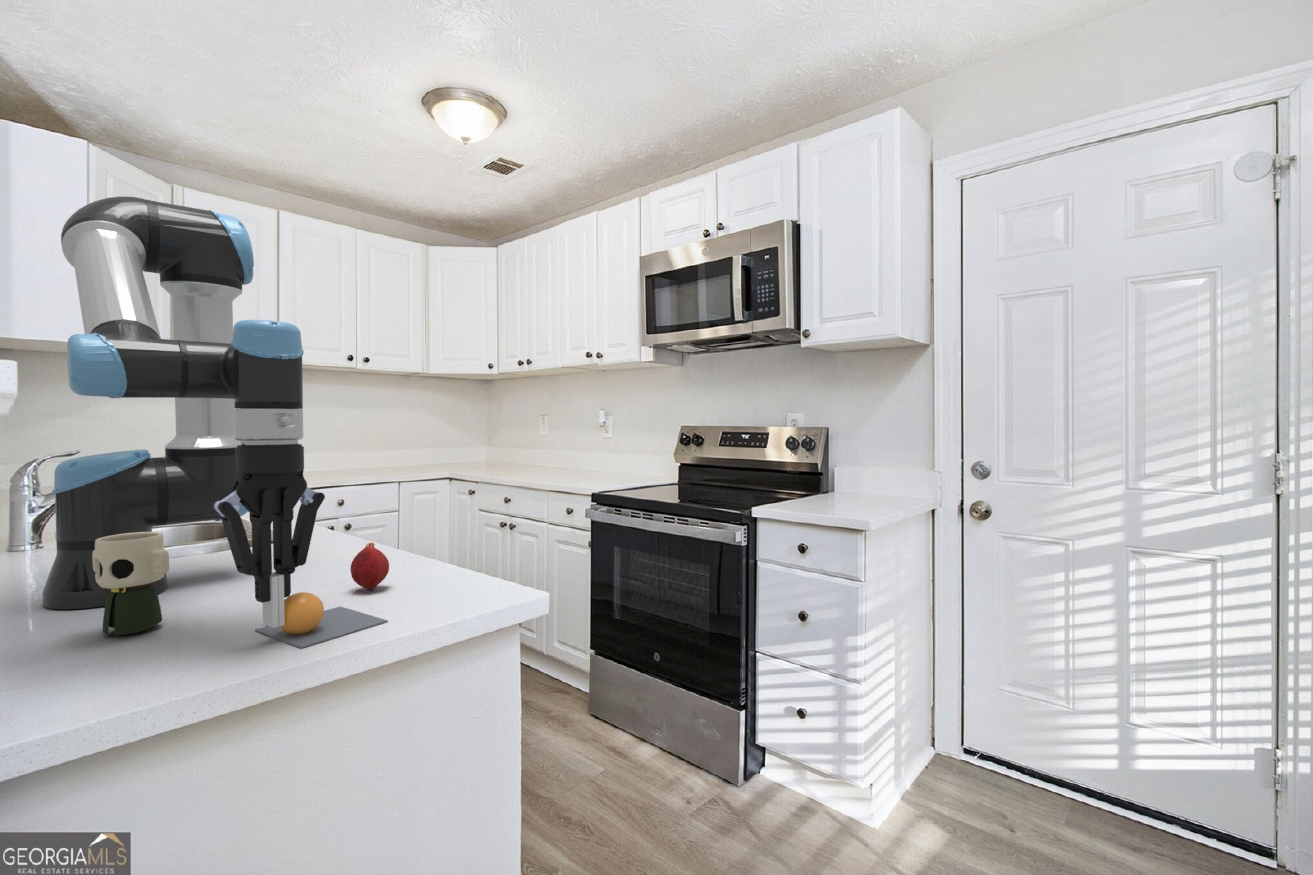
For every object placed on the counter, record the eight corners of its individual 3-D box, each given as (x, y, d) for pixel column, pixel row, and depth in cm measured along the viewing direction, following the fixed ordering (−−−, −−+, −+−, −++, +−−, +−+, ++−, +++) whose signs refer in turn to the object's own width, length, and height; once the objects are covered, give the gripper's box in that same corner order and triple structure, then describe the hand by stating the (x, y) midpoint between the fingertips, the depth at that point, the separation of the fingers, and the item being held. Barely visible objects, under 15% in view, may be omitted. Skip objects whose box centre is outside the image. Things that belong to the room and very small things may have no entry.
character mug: (70, 639, 82) (66, 541, 81) (121, 621, 89) (118, 530, 89) (146, 641, 81) (142, 542, 80) (192, 623, 88) (189, 531, 88)
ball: (272, 590, 83) (315, 586, 88) (266, 631, 83) (309, 626, 87) (291, 599, 80) (334, 595, 84) (284, 642, 80) (328, 636, 84)
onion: (374, 596, 101) (373, 547, 101) (343, 594, 102) (341, 545, 102) (396, 586, 107) (395, 539, 106) (366, 584, 108) (365, 538, 107)
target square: (254, 630, 85) (254, 629, 85) (340, 607, 95) (340, 606, 95) (301, 648, 78) (301, 647, 78) (387, 621, 88) (387, 620, 88)
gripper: (226, 444, 73) (231, 645, 73) (335, 441, 84) (338, 616, 84) (199, 443, 77) (203, 633, 78) (306, 440, 88) (309, 607, 88)
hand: (273, 624), depth 81 cm, fingers closed
